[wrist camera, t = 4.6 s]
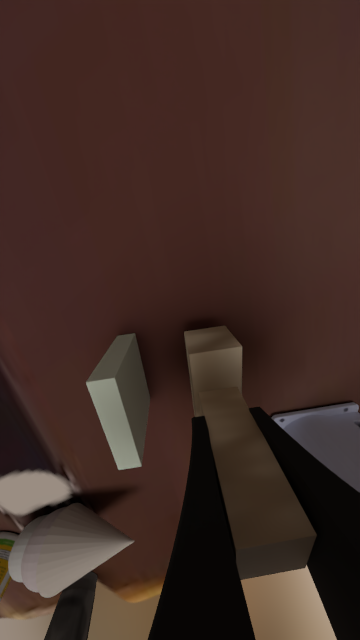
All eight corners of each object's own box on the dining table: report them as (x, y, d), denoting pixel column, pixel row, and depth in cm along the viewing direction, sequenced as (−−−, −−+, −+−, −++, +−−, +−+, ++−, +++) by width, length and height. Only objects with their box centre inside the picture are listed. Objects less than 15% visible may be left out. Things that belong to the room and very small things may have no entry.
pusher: (224, 325, 12) (349, 476, 4) (227, 407, 15) (302, 594, 7) (183, 331, 12) (222, 498, 4) (194, 412, 15) (229, 607, 7)
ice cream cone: (147, 487, 21) (52, 498, 24) (115, 512, 16) (-1, 521, 19) (151, 566, 18) (41, 567, 21) (113, 629, 13) (-25, 618, 16)
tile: (135, 333, 15) (114, 377, 9) (150, 397, 17) (141, 466, 11) (117, 335, 15) (85, 382, 9) (135, 400, 17) (118, 470, 11)
